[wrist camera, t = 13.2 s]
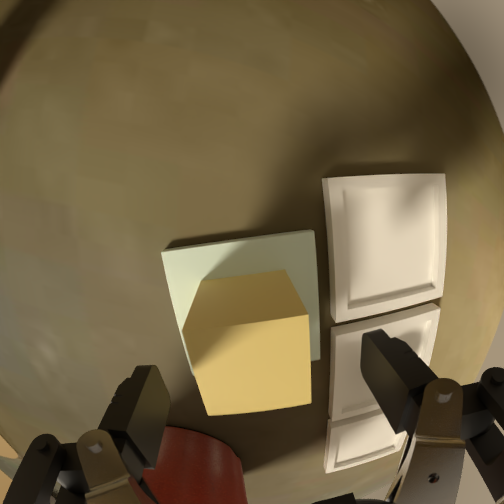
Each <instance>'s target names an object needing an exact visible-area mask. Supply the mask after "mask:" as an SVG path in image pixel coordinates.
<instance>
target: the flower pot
mask: <svg viewBox="0 0 504 504" xmlns="http://www.w3.org/2000/svg"><path fill="white" fill-rule="evenodd" d="M142 475H143V477H144V478H145V479H146V481H147V483H148V484H149V486H150V487H151V489H152V490H153V492H154V493H155V495H156V496H157V498H158V499H159V501H160V502H161V504H248V502H247V497H246V491H245V484H244V478H243V472H242V465H241V460H240V458H239V457H237V456H236V455H235V454H234V452H233V451H232V449H231V447H229V446H228V445H226V444H225V443H223V442H221V441H220V440H217V439H215V438H213V437H211V436H208V435H205V434H202V433H199V432H195V431H192V430H187V429H183V428H177V427H167V426H165V429H164V433H163V437H162V441H161V446H160V450H159V454H158V458H157V463H156V467H155V470H154V469H144V470H143V474H142Z"/></svg>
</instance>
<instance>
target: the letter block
mask: <svg viewBox="0 0 504 504" xmlns="http://www.w3.org/2000/svg"><path fill="white" fill-rule="evenodd" d="M182 334H183V337H184V341H185V344H186V348H187V351H188V355H189V358H190V362H191V365H192V368H193V371H194V375H195V378H196V381H197V384H198V387H199V390H200V393H201V396H202V399H203V402H204V405H205V408H206V411H207V414H208V416H211V415H227V414H239V413H249V412H258V411H266V410H274V409H280V408H287V407H293V406H298V405H304V404H309V403H311V361H310V334H309V314H308V312H307V310H306V308H305V307H304V305H303V303H302V301H301V299H300V297H299V295H298V293H297V291H296V289H295V287H294V285H293V284H292V282H291V280H290V278H289V276H288V274H287V272H286V270H285V269H284V270H277V271H270V272H263V273H256V274H249V275H241V276H234V277H226V278H219V279H211V280H203V281H201V282H200V284H199V287H198V289H197V292H196V294H195V297H194V300H193V302H192V305H191V307H190V310H189V313H188V315H187V318H186V321H185V323H184V326H183V329H182Z"/></svg>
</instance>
